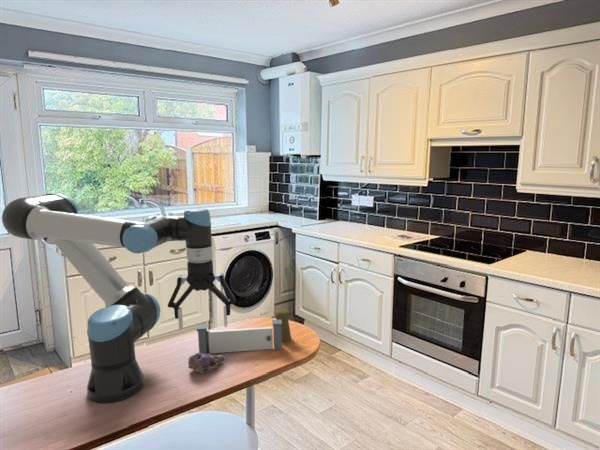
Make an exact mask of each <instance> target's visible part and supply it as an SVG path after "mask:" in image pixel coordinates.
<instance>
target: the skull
mask: <svg viewBox="0 0 600 450" xmlns="http://www.w3.org/2000/svg"><path fill="white" fill-rule="evenodd" d="M224 361H225V355H224V354H218V355H211V353H209V354H208V353H207V354H205V353H199V352H197V353H195V354H193V355H191V356H189V358H188V362H187V363H188V365H187V366H188V367H187V368H188V369H191V370H193V372H196V373H199V374H204V373H207V372H208V371H209V370H211V369H213V370H216V369H218V368H219V367H221V366H222V363H223V365H224V364H225V362H224Z"/></svg>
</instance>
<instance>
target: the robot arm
mask: <svg viewBox="0 0 600 450" xmlns="http://www.w3.org/2000/svg"><path fill="white" fill-rule="evenodd" d="M78 212H79V208H78V205H77V204H76V202H75V201H74V200H73V199H72V198H70V197H69V196H67V195H64V194H61V193H45V194H41V195H35V196H27V197H20V198H16V199H14V200H12V201H10V202H9V203H8V204H7V205H6V206H5V207H4V209H3V210H2V214H1V222H2V225H3V227H4V229H5V230H6V231H7V232H8V233H9V234H11V235H12V236H14V237H16V238H19V239H20V238H21V239H26V240H27V239H28V240H33V241H34V240H35V241H41V240H43V241H44V242H45V243H46V244H47V245H55V246H56V248H57V249H58V250H59V251H60V252H61V253H62V254H63V256H64V257H65V258H66V259H67V260H68V262H69V263H70V265H72V267H74V268H75V270H76V271H77V272H78V274H80V276H81V277H82V278H83V279H84V280H85V281H86V283H87V285H89V286H90V287H91V288H92V290H93V291H94V292H95V293H96V294H97V295H98V297H99V298H100V299H101V300H102V301H103V303H104V307H102V308H100V309H98V310H96V311H94V312H93V313H92V314H91V315H90V316H89V318H88V320H87V330H86V332H87V337H88V346H89V347H88V348H89V354H90V355H89V357H90V361H91V362H90V363H91V364H90V365H91V370H90V374H89V379H88V383H87V386H86V390H87V398H88V399H89V400H90V401H92V402H95V403H101V404H102V403H103V404H107V403H115V402H119V401H123V400H126V399H128V398H130V397H132V396H134V395H136V394H137V393H138V392H139V391H141V389H142V388H143V386H144V385H145V379H144V377H145V376H144V374H143V372H142V369H141V367H140V366H139V363H138V361H137V359H136V348H135V342H137V341H138V340H139V339H141V338H142V337H143V336H144V335H145V334H147V332H150V330H152V329H153V328H154V327H155V326H156V325H157V323H158V322H159V320H160V318H161V317H160V316H161V307H160V304H159V301H158V299H156V298H155V296H153V295H152V294H150V293H146V292H141V291H140V289H139V288H138V287H137V286H136V285H135V286H133V285H129V284H128V283H127V282H126V280H124V278H123V277H122V276H121V275H120V274H119V272H118V271H117V270H116V268H114V267H113V264H111V262H110V261H109V260H108V259H107V258H106V257H105V256H104V255H103V253H102V252H101V251H100V249H98V247H97V246H96V245H102V246H110V247H119V248H125V249H126V250H127V251H129V252H131V253H132V254H143V253H146V252H149V251H151V250H153V249H155V248H156V247H158V246H160V245H163V244H164V243H167V242H170V241H171V242H172V241H175V242H176V241H179V242H184V241H185V247H186V260H187V263H186V264H187V267H186V268H187V276H183V275H181V274H180V275H178V277H177V279H176V286H175V288H174V290H173V293H172V294H171V296H170V299H169V301H168V303H167V307H168V308H170V309H171V308H173V311H174V312H173V313H174V318H175V320H178V330H180V331H181V330H183V328H184V323H183V322H184V320H183V307H182V306H181V305H182V304H183V303H184V301H185V300H186V299H187V297H188V296H189V295H190V294H191V293H192V291H193V290H194V291H196V292H198V291H208V290H210V292H212V293H213V294H215V295H214V296H216V297H217V298H218V299H219V300H220V301H221V303H223V323H224V325H223V326H224V327H225V328H226V327H228V316H231V306H232V305H234V304H236V302H237V301H236V296H235V295H234V293H233V292H232V290H231V288H230V287H229V285H228V283H227V282H226V279H225V274H224V273H222V272H221V273H219V274H216V275H215V274H214V263H213V261H214V260H212V259H213V245H212V244H213V243H212V222H211V216H210V215H211V213H210V211H209V209H206V208H203V207H201V208H187V209H184V213H183V215H162V214H158V215H157V214H156V215H149V216H148V217H146V220H144V221H134V220H130V219H129V220H128V219H121V218H111V217H106V216H105V217H103V216H97V215H95V216H94V215H87V214H79V213H78ZM215 280H217V282H218V283H220V285H221V287H222V289H223V290H224V292H225V294H226V295H225V294H224V293H223V292H222V291H221V290H220V289H219V288H218V287H217V285H216V284H214V282H215ZM185 282H186V283H188V284H189V286H188V287H187V289H186V290H185V291H184V292H183V294H181V296H180V297H179V299H178V300H177V301H176V302H175V299H176V297H177V295H178V294H179V291H180V289H181V286H182V285H184V284H185ZM226 296H227V297H226Z"/></svg>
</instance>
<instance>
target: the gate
mask: <svg viewBox="0 0 600 450" xmlns="http://www.w3.org/2000/svg"><path fill="white" fill-rule="evenodd" d="M206 337H207V354H219V353H233V352H245V351H246V352H247V351H261V350H262V351H263V350H273V349H274V337H273V326H268V327H267V326H266V327H265V326H264V327H251V328H237V329H234V328H233V329H219V330H207V331H206Z"/></svg>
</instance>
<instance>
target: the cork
mask: <svg viewBox="0 0 600 450" xmlns="http://www.w3.org/2000/svg"><path fill="white" fill-rule="evenodd" d="M290 315H291V314H290V312H289V310H288V309H278V310H276V312H275V315H274V316H275V320H282V326H281V331H282V344H286V343H289V342H291V340H292V336H291V335H292V334H291V329H290V324H289V323H290V322H289V319H290Z"/></svg>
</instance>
